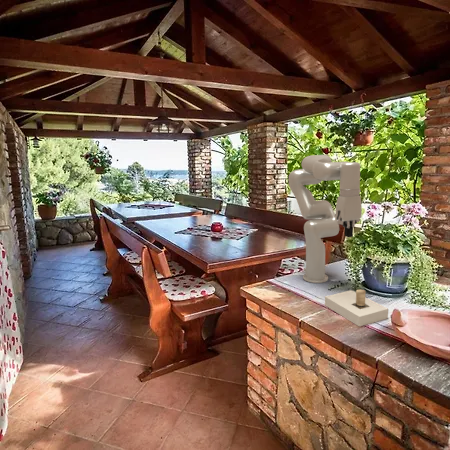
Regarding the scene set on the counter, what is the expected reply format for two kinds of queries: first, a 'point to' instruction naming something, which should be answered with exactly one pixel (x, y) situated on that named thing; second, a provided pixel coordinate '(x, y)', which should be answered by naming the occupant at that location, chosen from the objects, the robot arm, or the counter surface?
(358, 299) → the beech peg
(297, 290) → the counter surface
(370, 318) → the peg board
